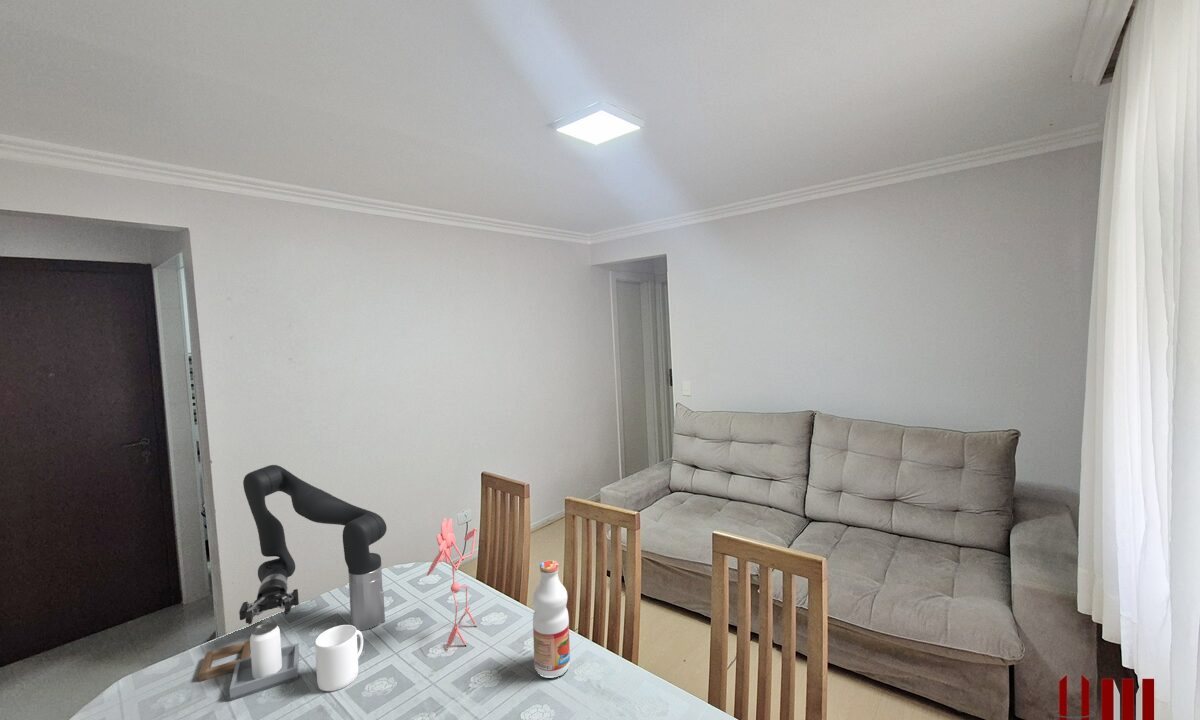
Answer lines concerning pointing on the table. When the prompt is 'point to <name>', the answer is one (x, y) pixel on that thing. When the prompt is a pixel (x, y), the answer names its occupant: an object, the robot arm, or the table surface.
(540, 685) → the table surface
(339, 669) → the mug
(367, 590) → the robot arm
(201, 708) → the table surface
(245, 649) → the walnut collar
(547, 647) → the fruit juice
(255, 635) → the can
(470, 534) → the figurine
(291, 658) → the grey shallow rectangular tray
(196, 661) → the table surface
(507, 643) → the table surface
